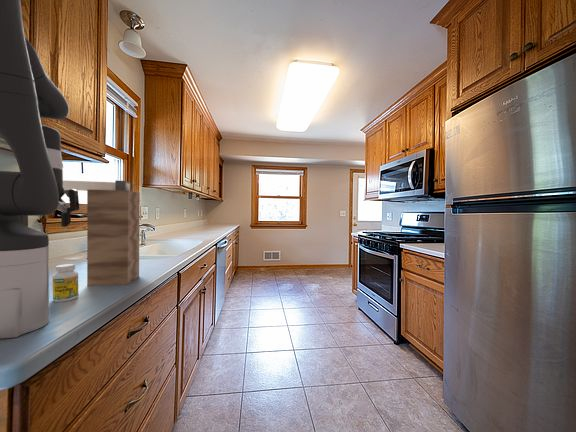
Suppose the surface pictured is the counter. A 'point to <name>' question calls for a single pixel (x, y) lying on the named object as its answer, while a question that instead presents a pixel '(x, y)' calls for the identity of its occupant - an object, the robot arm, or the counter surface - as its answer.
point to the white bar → (97, 185)
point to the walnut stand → (112, 237)
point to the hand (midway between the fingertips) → (45, 226)
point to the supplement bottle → (65, 283)
